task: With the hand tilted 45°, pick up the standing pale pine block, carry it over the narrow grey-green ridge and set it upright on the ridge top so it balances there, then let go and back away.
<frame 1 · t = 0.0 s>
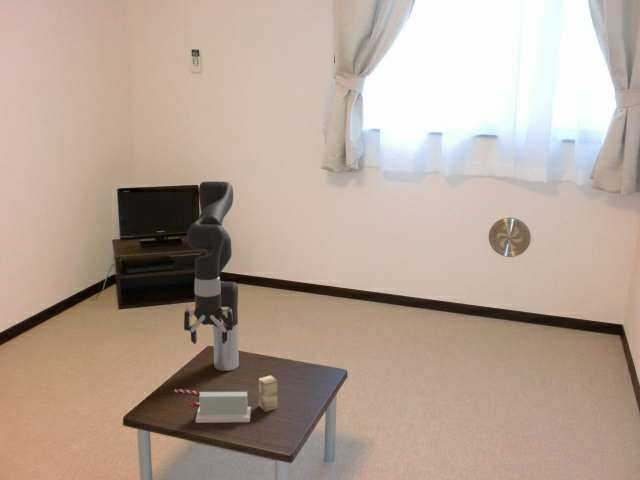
hand: (209, 342, 187), 29 cm above the table, tool pointing down, fingers open, 8 cm apart
candy cane: (189, 399, 214), on the table
pine block: (268, 406, 209), on the table
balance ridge: (224, 416, 202), on the table
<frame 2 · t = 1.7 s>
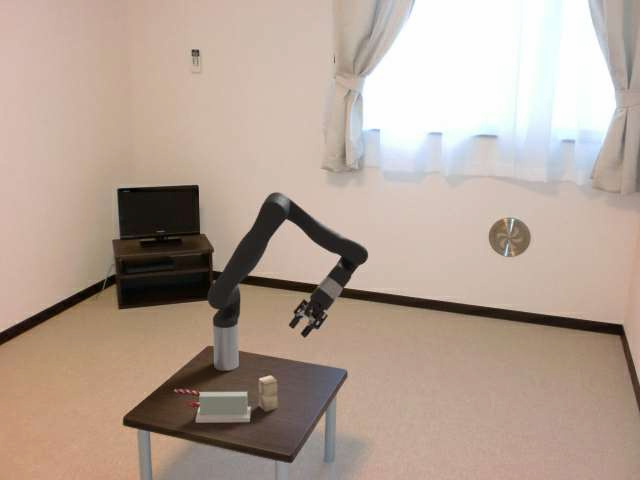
hand: (296, 331, 208), 25 cm above the table, tool tilted 45°, fingers open, 8 cm apart
nothing on the table moved.
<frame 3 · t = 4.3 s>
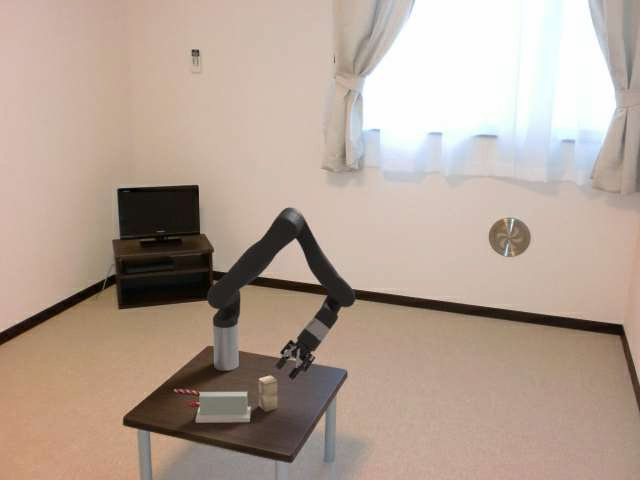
hand: (283, 373, 209), 11 cm above the table, tool tilted 45°, fingers open, 8 cm apart
nothing on the table moved.
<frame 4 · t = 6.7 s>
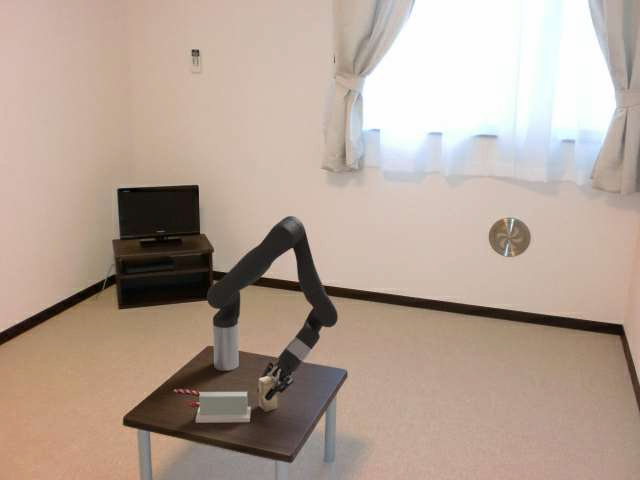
hand: (263, 395, 206), 5 cm above the table, tool tilted 45°, fingers closed on pine block, 4 cm apart
pine block: (268, 406, 209), on the table, touching gripper
everything else where it was.
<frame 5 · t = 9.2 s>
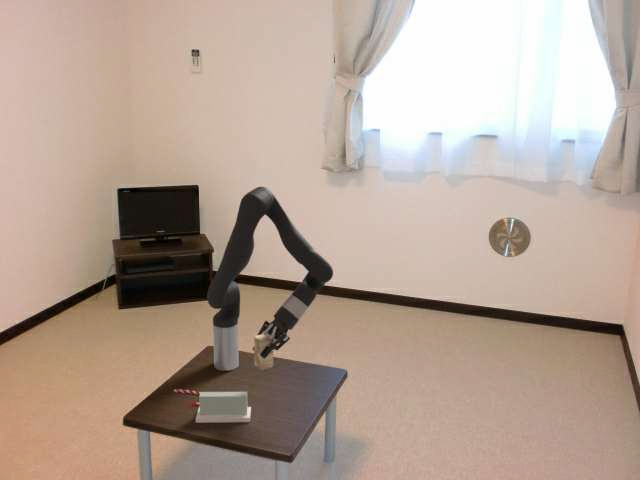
hand: (258, 353, 202), 20 cm above the table, tool tilted 45°, fingers closed on pine block, 4 cm apart
pine block: (263, 365, 204), point 15 cm above the table, touching gripper
everything else where it was.
when the fingers open (14 cm above the table, at t = 11.9 s): pine block drops 1 cm, resting on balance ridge.
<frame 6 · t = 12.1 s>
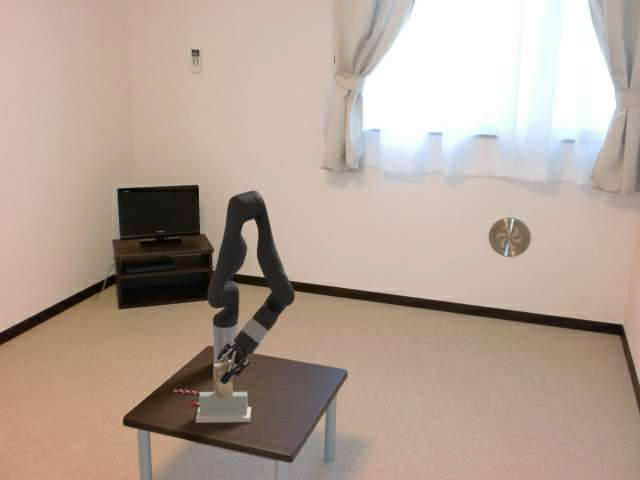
hand: (218, 378, 198), 14 cm above the table, tool tilted 45°, fingers open, 6 cm apart
pine block: (223, 394, 200), point 8 cm above the table, touching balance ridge
everything else where it was.
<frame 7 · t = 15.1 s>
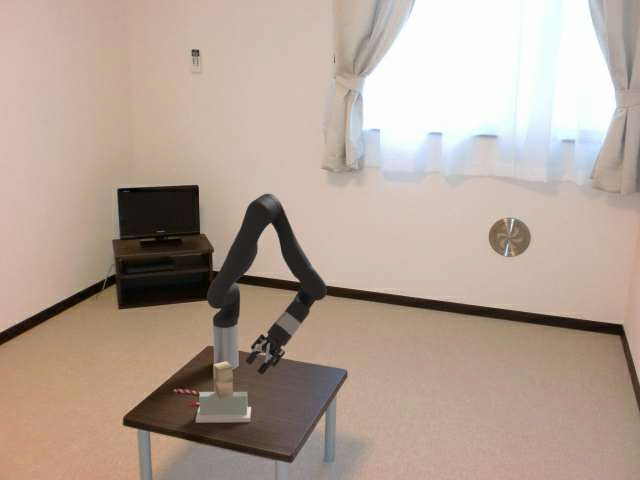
hand: (253, 368, 204), 14 cm above the table, tool tilted 45°, fingers open, 8 cm apart
nothing on the table moved.
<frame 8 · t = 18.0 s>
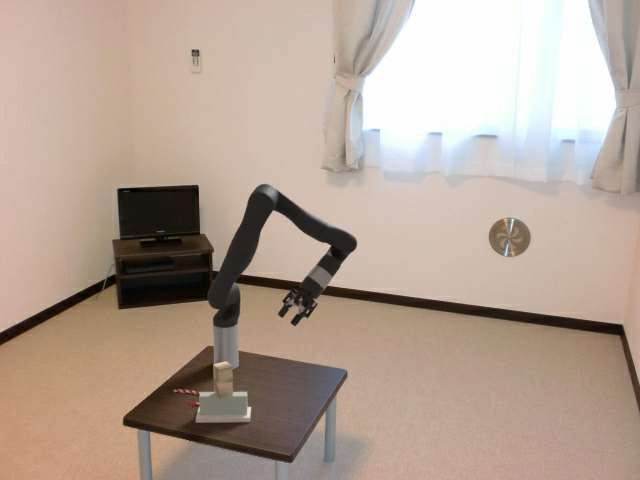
hand: (286, 320, 207), 29 cm above the table, tool tilted 45°, fingers open, 8 cm apart
nothing on the table moved.
at the end: pine block inside the target area (0.1 cm from its centre), point 8.0 cm above the table; pine block tilted 0°; the gripper is holding nothing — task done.
